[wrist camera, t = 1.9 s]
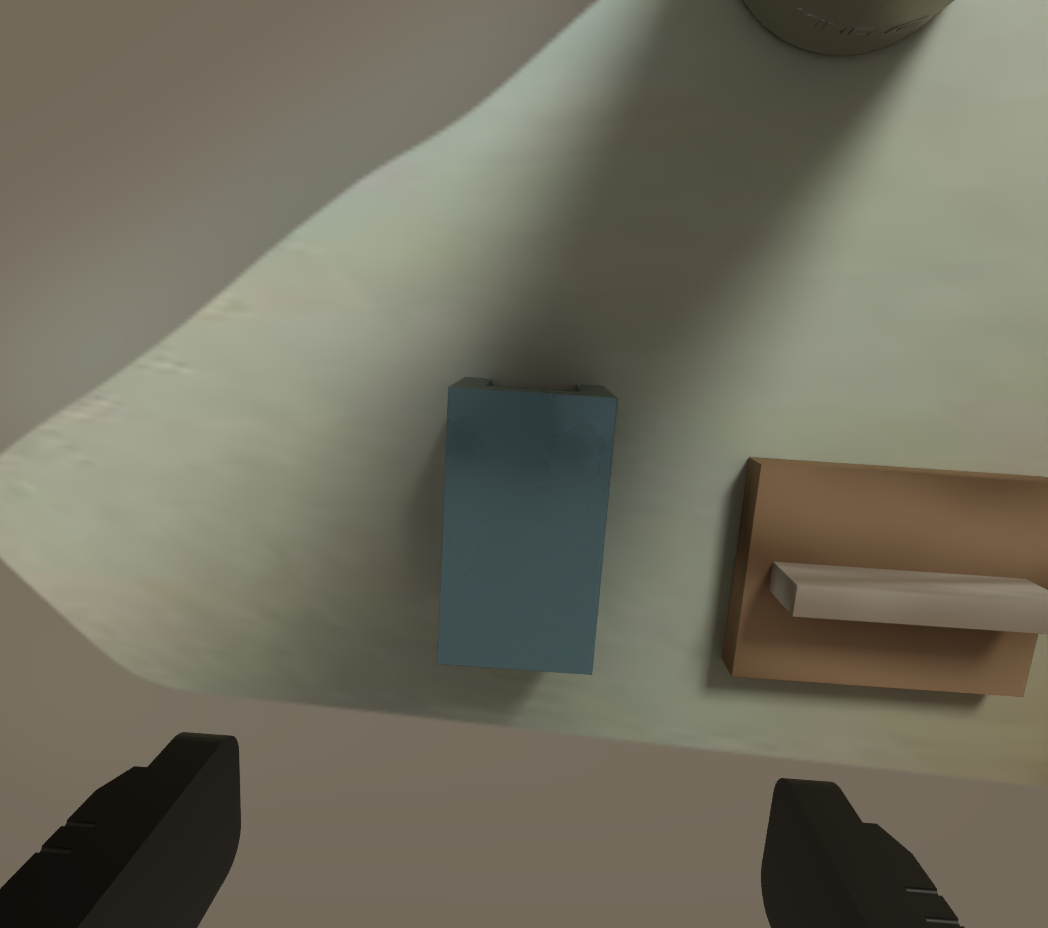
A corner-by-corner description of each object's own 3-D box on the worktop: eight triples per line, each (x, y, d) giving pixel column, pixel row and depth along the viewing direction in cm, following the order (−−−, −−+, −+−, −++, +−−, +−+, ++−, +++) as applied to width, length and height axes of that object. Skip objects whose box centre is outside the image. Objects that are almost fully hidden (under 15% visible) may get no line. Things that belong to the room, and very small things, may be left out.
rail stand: (749, 457, 27) (785, 478, 23) (1044, 476, 27) (1131, 501, 23) (722, 658, 28) (751, 710, 25) (997, 678, 28) (1071, 733, 24)
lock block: (465, 376, 26) (448, 387, 22) (603, 386, 26) (617, 397, 21) (455, 606, 28) (437, 663, 24) (583, 615, 28) (592, 674, 23)
